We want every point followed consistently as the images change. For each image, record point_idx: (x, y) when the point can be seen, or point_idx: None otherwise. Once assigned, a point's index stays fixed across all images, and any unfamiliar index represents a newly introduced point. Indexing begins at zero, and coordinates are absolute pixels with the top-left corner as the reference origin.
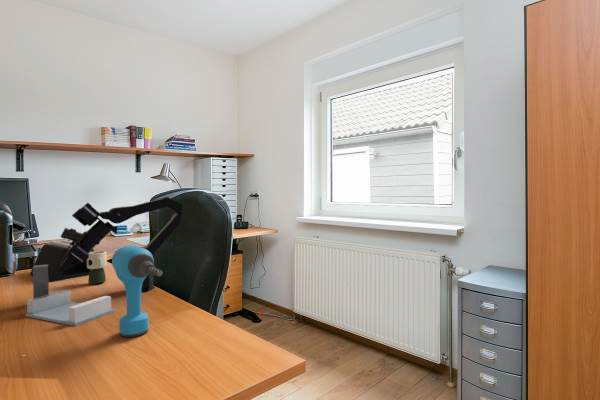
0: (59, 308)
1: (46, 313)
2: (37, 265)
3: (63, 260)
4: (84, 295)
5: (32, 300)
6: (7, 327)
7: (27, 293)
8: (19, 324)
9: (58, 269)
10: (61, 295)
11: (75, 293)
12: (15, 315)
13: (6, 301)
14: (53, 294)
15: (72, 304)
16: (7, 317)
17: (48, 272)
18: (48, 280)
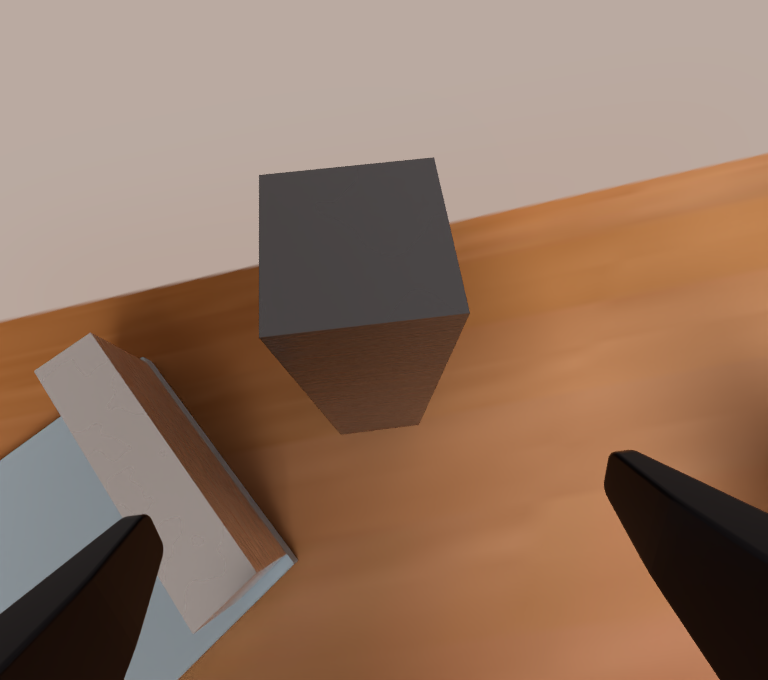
0: None
1: (57, 472)
2: (427, 191)
3: (715, 552)
4: (496, 676)
5: (43, 370)
6: (11, 325)
7: (670, 264)
8: (18, 365)
9: (111, 537)
10: None
11: (589, 580)
12: (205, 311)
13: (516, 211)
14: (129, 490)
15: (169, 623)
16: (192, 286)
17: (417, 362)
18: (383, 391)
